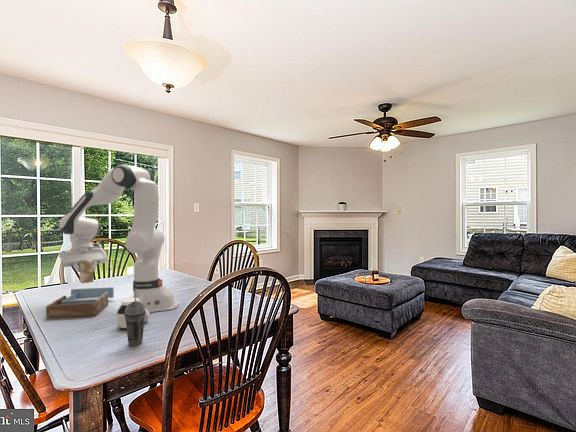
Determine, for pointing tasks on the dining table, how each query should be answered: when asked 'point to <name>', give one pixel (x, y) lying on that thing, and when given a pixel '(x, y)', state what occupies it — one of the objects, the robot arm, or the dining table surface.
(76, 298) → the tray
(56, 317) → the caddy
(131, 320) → the beverage cup
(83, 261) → the beech block
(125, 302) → the spread jar
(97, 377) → the dining table surface
